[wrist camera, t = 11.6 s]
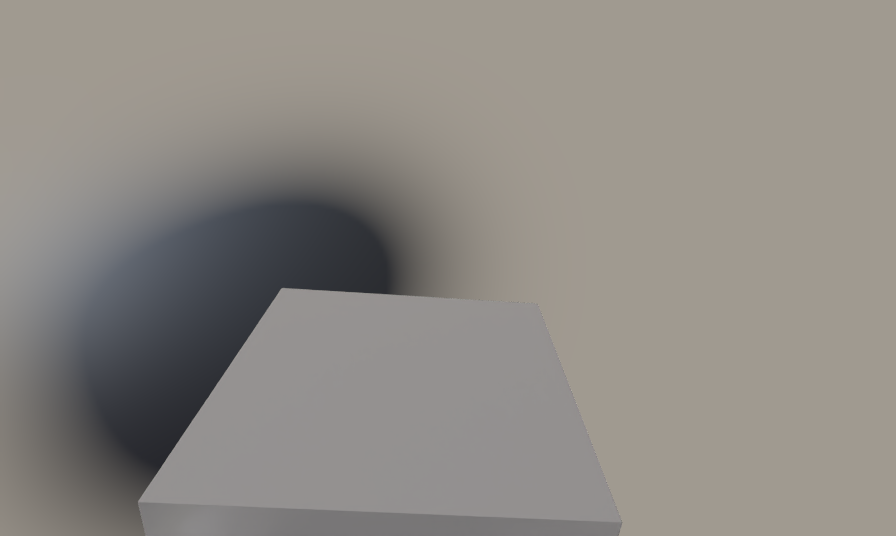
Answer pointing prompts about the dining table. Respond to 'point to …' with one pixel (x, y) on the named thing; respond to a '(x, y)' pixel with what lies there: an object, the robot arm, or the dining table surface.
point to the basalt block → (386, 428)
